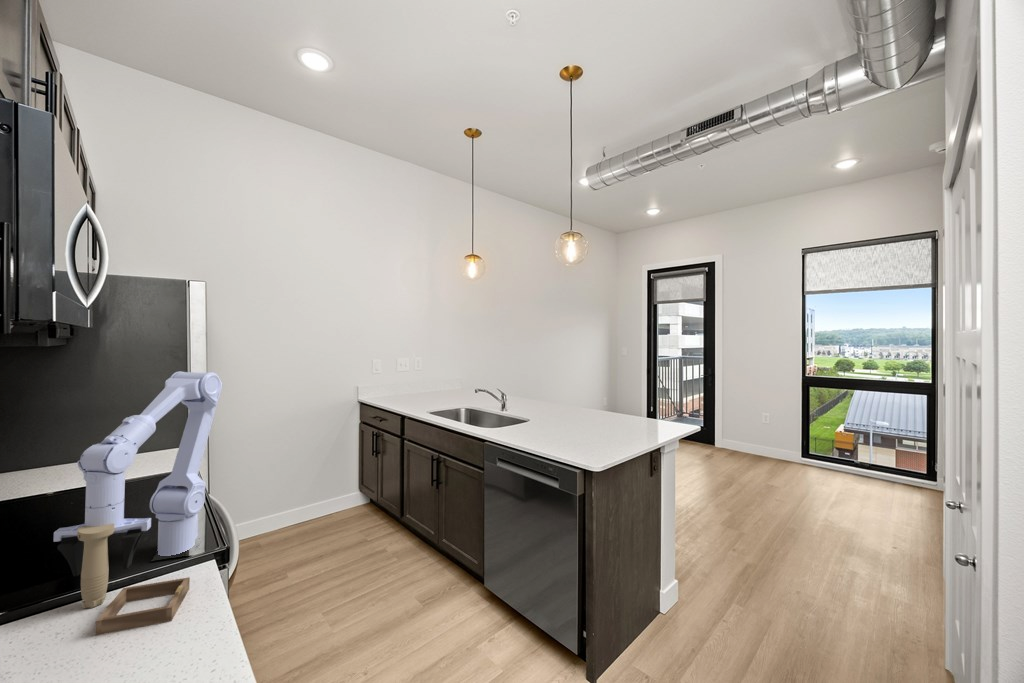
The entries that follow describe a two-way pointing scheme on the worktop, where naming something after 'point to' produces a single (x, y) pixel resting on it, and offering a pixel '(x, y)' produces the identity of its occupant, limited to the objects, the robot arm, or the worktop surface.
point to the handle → (94, 563)
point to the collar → (146, 617)
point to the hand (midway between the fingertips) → (103, 570)
